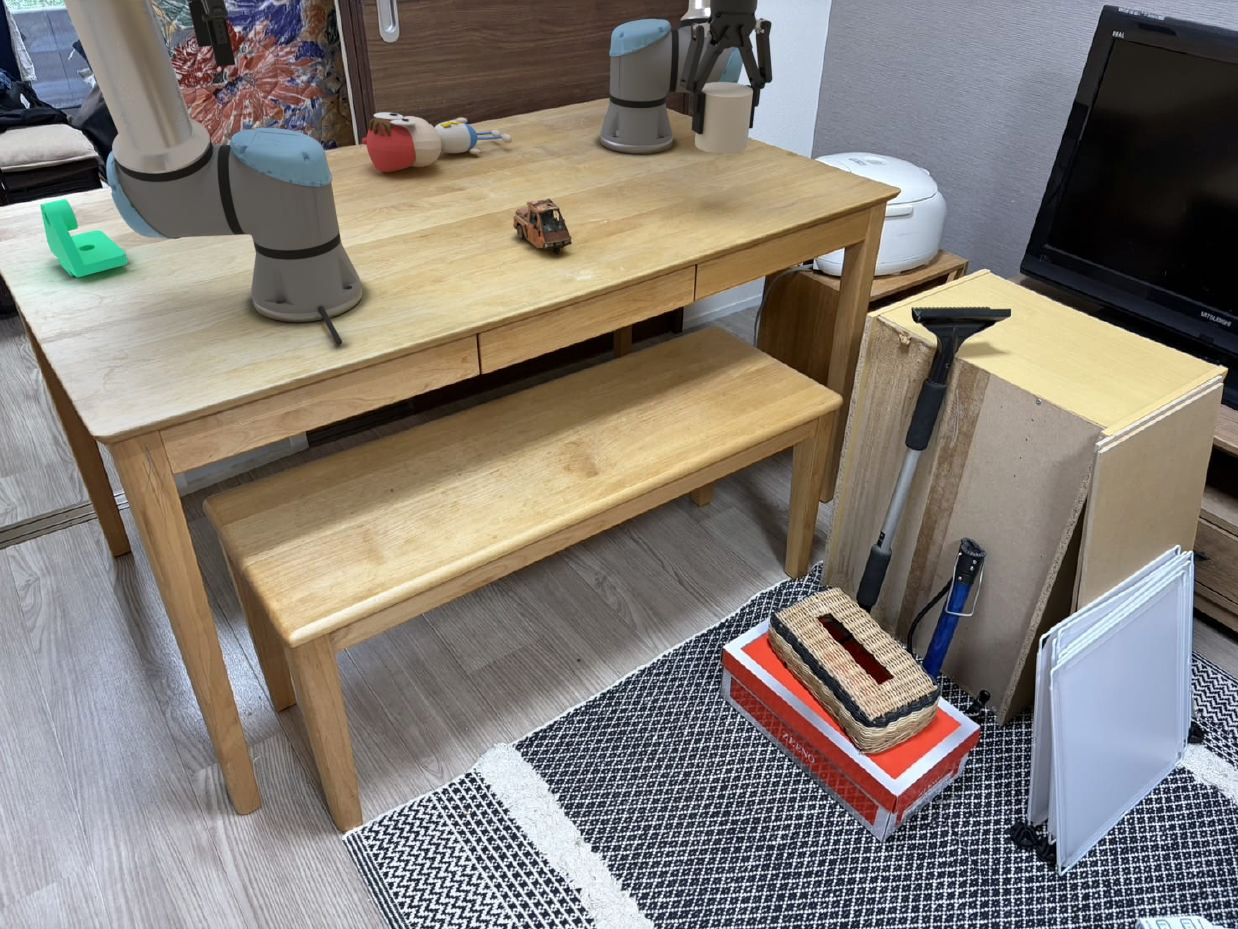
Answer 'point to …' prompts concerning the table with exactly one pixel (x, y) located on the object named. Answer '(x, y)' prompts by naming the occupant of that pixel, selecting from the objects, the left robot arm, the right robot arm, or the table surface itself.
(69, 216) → the camera mount
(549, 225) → the toy car
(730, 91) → the canister
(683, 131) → the table surface
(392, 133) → the toy
